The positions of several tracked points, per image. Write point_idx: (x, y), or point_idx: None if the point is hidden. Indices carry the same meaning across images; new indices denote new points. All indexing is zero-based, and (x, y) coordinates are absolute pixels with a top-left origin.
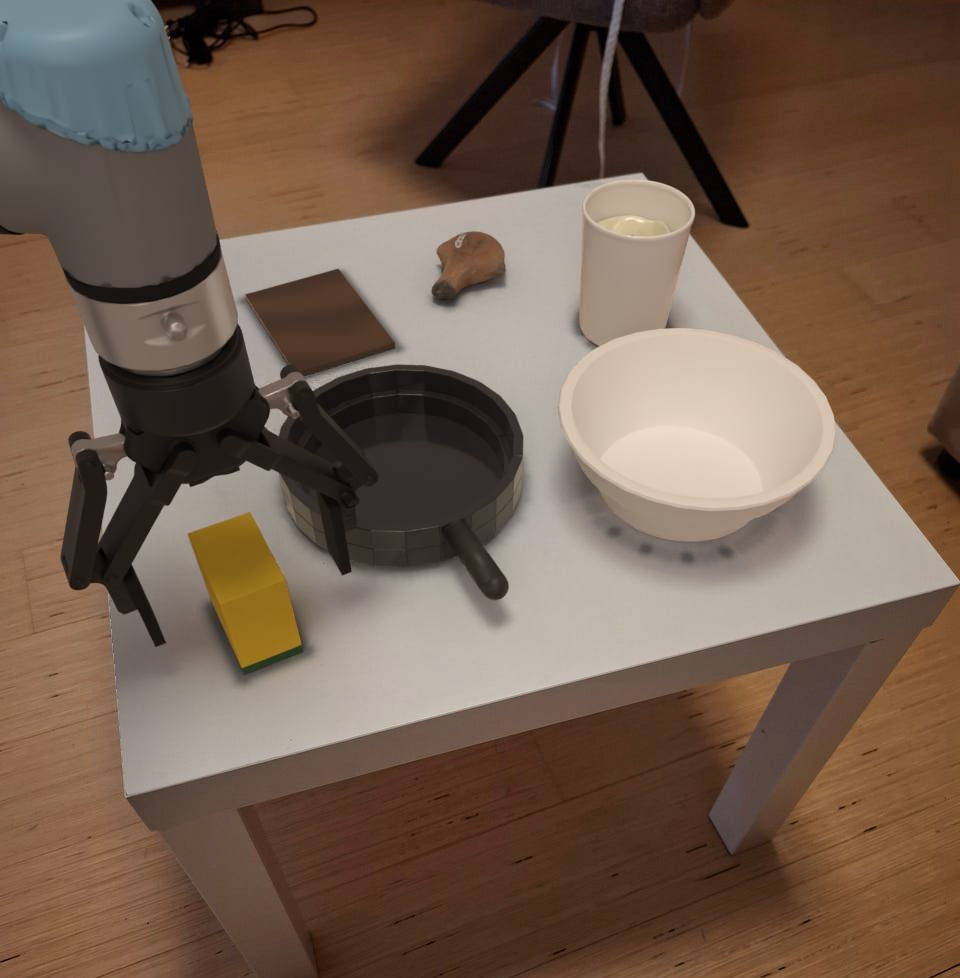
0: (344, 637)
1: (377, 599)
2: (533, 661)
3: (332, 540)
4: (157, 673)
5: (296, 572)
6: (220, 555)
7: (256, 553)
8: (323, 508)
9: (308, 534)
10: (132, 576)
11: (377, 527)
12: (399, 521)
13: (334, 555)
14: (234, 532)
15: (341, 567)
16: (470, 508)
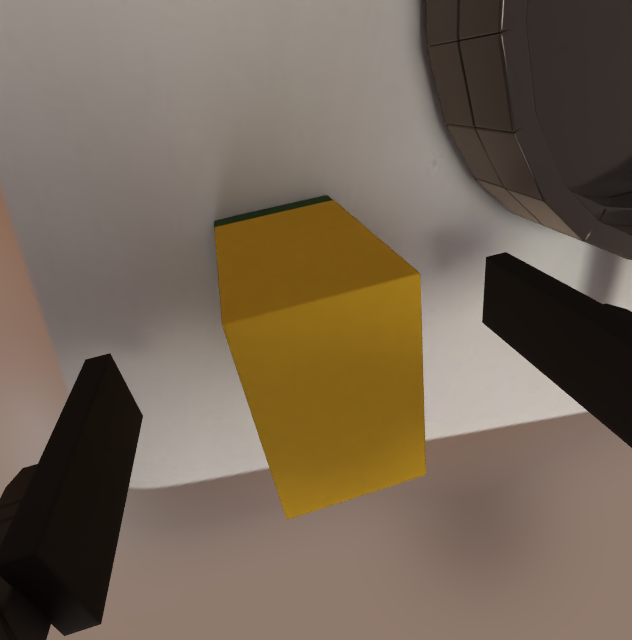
0: None
1: (478, 268)
2: None
3: (535, 341)
4: (111, 344)
5: (381, 172)
6: (308, 410)
7: (393, 413)
8: (606, 369)
9: (443, 93)
10: (80, 614)
11: (598, 235)
12: (601, 105)
13: (501, 310)
14: (358, 341)
15: (497, 333)
16: None
